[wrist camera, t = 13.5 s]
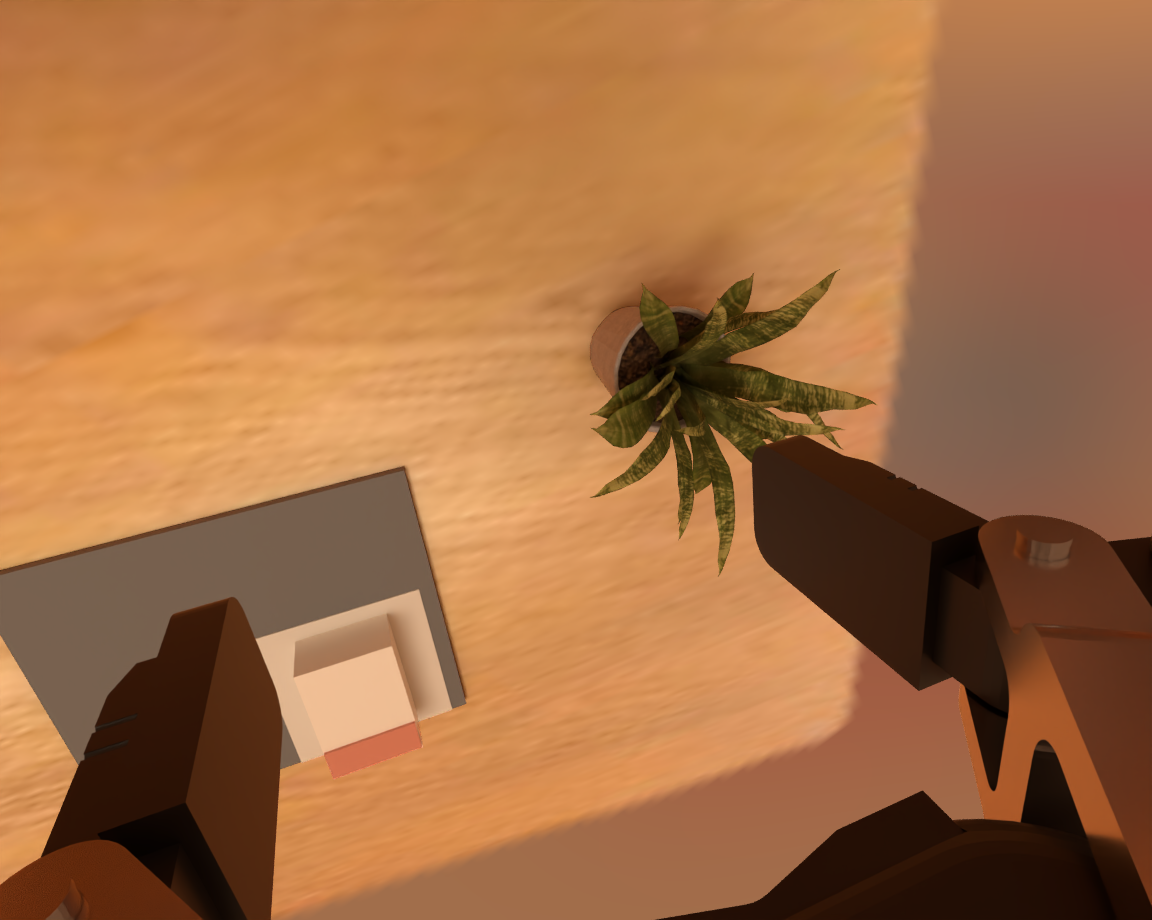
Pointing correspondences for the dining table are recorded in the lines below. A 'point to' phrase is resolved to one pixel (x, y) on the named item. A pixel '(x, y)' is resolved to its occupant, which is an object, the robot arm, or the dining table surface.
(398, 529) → the mat
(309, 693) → the card box
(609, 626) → the dining table surface
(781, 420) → the house plant
